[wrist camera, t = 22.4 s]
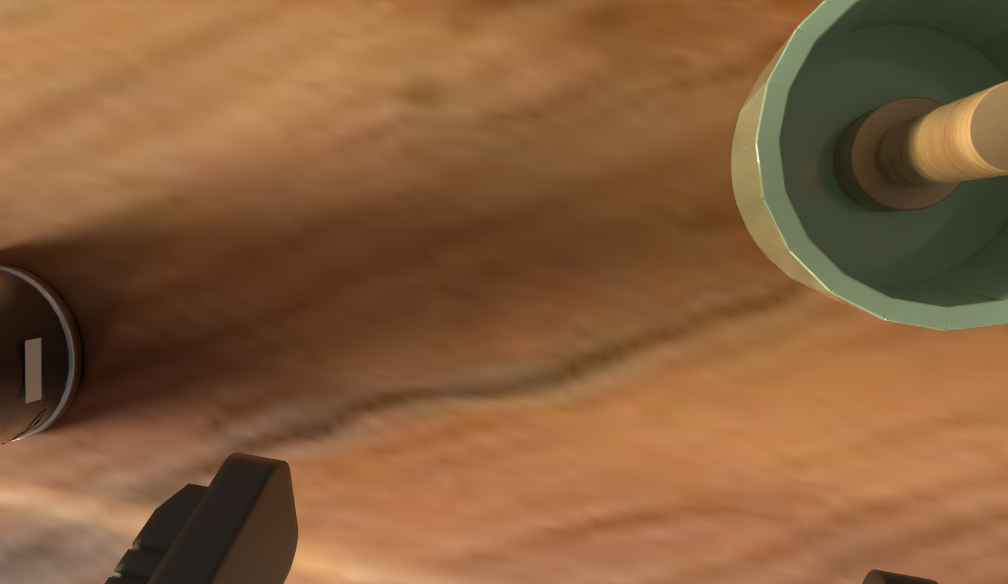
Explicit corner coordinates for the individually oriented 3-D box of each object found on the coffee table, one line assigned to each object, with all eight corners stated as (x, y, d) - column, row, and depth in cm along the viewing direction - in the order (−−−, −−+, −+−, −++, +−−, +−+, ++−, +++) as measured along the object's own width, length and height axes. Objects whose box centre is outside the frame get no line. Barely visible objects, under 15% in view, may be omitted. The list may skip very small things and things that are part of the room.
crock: (670, 160, 36) (679, 142, 27) (890, -54, 33) (973, -146, 25) (871, 361, 35) (942, 405, 27) (1110, 156, 33) (1270, 134, 24)
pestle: (810, 160, 34) (899, 128, 22) (891, 85, 33) (1026, 10, 21) (884, 233, 34) (1012, 239, 22) (966, 159, 33) (1146, 124, 21)
